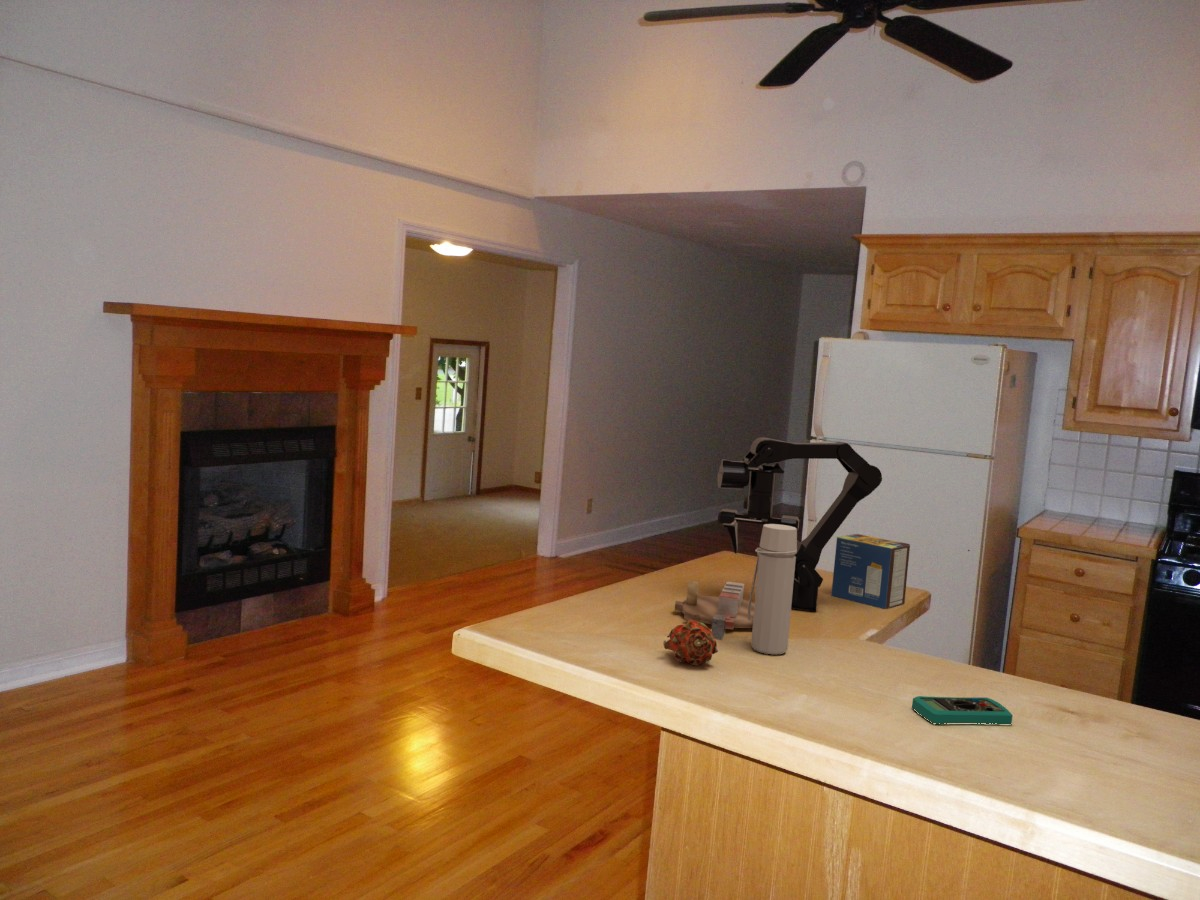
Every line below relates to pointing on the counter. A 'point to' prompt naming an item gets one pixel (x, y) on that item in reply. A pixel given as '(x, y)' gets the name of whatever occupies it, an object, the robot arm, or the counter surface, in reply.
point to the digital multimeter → (961, 710)
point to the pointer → (718, 626)
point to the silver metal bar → (731, 599)
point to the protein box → (870, 570)
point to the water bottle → (773, 588)
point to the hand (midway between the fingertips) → (755, 555)
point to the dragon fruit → (692, 643)
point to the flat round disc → (711, 609)
